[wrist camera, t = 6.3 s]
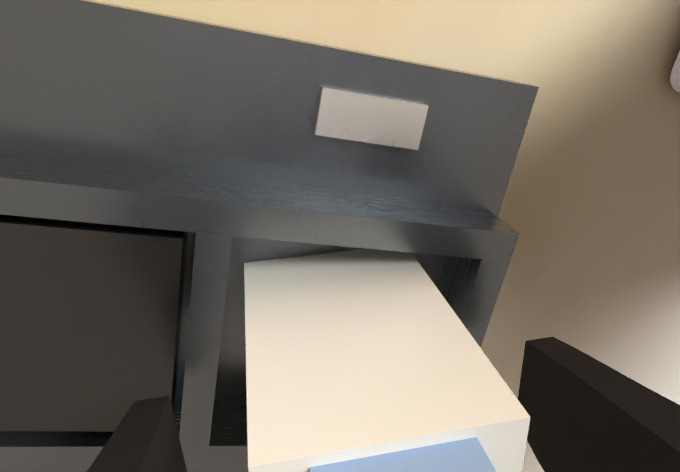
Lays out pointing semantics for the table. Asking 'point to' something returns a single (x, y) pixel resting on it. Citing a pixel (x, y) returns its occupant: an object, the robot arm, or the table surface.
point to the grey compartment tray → (212, 208)
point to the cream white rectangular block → (369, 372)
